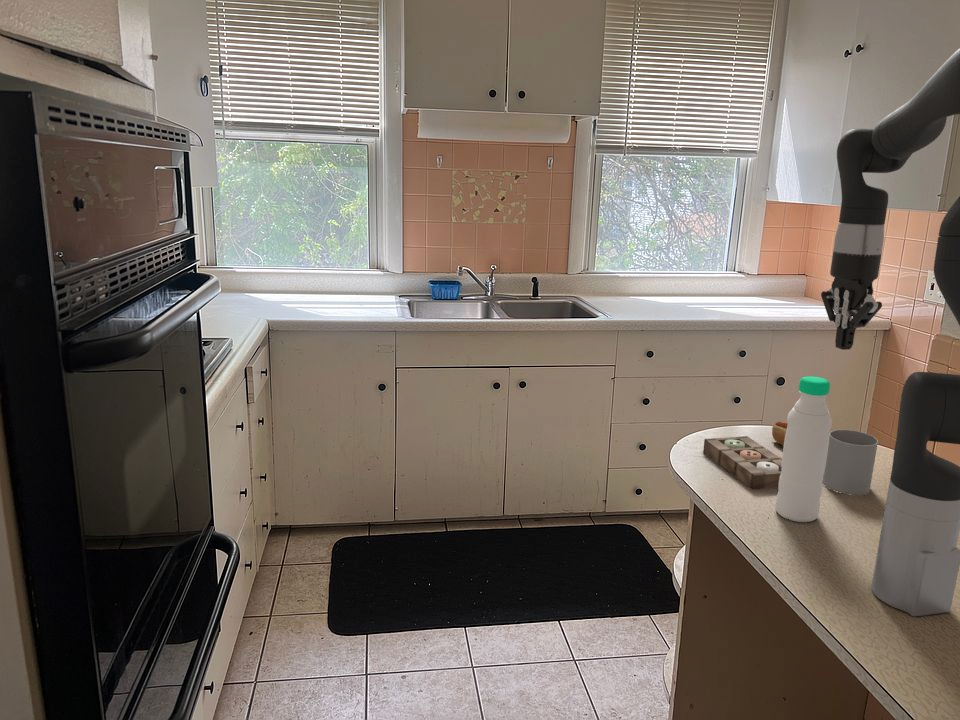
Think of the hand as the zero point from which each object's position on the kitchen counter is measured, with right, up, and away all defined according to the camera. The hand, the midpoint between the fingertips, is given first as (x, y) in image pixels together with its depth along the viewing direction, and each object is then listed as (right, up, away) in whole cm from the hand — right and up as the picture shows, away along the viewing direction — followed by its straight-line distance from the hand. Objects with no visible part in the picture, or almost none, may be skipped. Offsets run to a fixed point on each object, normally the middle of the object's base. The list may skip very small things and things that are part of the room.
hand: (843, 348), depth 132 cm
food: (+4, -22, +29) cm, 37 cm away
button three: (-10, -24, +19) cm, 32 cm away
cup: (+6, -27, +12) cm, 30 cm away
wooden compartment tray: (-10, -24, +19) cm, 32 cm away
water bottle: (-9, -30, 0) cm, 31 cm away
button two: (-11, -22, +25) cm, 35 cm away
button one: (-9, -25, +13) cm, 30 cm away
